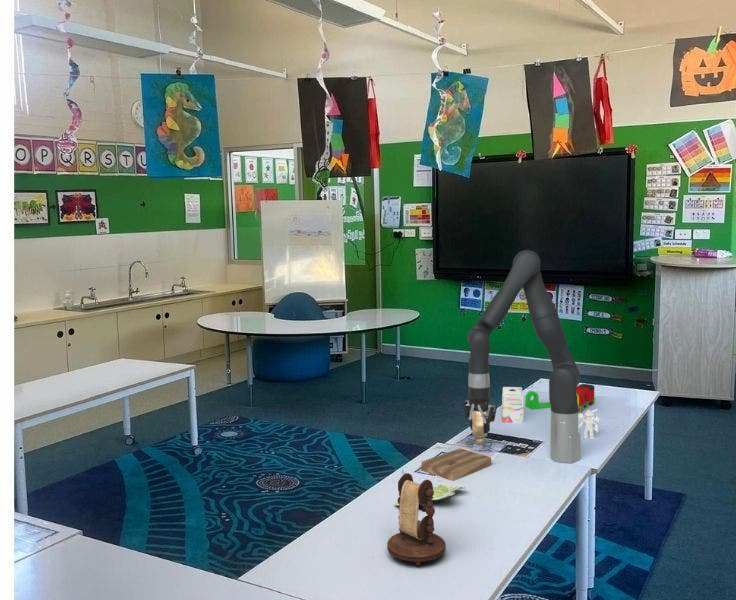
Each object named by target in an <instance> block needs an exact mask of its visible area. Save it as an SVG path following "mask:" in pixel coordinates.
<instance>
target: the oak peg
mask: <svg viewBox="0 0 736 600" xmlns="http://www.w3.org/2000/svg"><path fill="white" fill-rule="evenodd" d="M483 413H484V414H487V411H486V412H483ZM486 419H487V418H486ZM483 423H484V421H483V417H481V413H480V412H478V411H472V430H471V431H472V435H471V436H472V437H473V438H475V444H476V445H480V446H482V445H484V444H485V438H487V437H488V433H486V434H485V433H484V427H483Z"/></svg>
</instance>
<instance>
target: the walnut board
mask: <svg viewBox="0 0 736 600" xmlns="http://www.w3.org/2000/svg"><path fill="white" fill-rule="evenodd" d="M491 466H492V457H491V456H488V455H484V454H481V453H477V452H475V451H472V450H467V449H464V448H461V447H459V448H455V449H454V450H451V451H448V452H444V453H442V454H440V455H436V456H433V457H431V458H427V459H426V460H425V459H424V460H423V461H421V465H420V467H421V471H422V472H425V473H429V474H432V475H434V476H437V477H440V478H442V479H446V480H449V481H451V482H453V481H456V480H460V479H461V478H465V477H467V476H469V475H471V474H474V473H476V472H479V471H481V470H484V469H487V468H489V467H491Z"/></svg>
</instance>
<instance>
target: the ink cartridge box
mask: <svg viewBox="0 0 736 600" xmlns="http://www.w3.org/2000/svg"><path fill="white" fill-rule="evenodd" d="M501 395H502V396H501V421H502V423H524V414H525V413H524V410H525V409H524V407H525V406H524V402H525V401H524V399H525V398H524V394H523V388H522V387H521V386H519V387H518V386H517V387H516V386H503V387H502V394H501Z"/></svg>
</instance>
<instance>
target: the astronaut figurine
mask: <svg viewBox="0 0 736 600" xmlns="http://www.w3.org/2000/svg"><path fill="white" fill-rule="evenodd" d="M597 411H598V408H596V409H592V410H589V409H588V410H587V411H586V412H585V413H584V414H583V413H578V421H580V424H578V430H580V429H581V428H582V427H583V425H585V427H584V432H583V438H585V439H586V438H589V439H590V440H593V439H595V436H594V431H595V434H598V433H599V424H601V421H602V418H600V417H599V416H595V413H596V412H597ZM598 423H599V424H598Z"/></svg>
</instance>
